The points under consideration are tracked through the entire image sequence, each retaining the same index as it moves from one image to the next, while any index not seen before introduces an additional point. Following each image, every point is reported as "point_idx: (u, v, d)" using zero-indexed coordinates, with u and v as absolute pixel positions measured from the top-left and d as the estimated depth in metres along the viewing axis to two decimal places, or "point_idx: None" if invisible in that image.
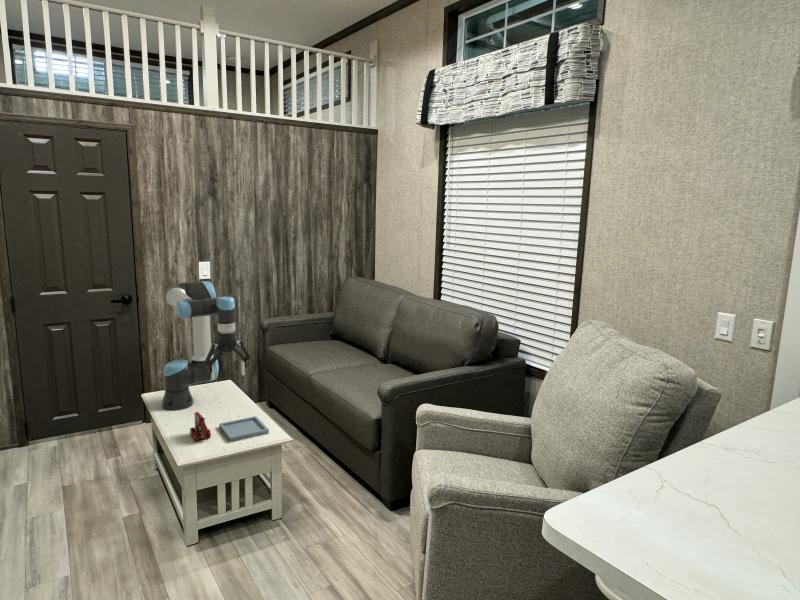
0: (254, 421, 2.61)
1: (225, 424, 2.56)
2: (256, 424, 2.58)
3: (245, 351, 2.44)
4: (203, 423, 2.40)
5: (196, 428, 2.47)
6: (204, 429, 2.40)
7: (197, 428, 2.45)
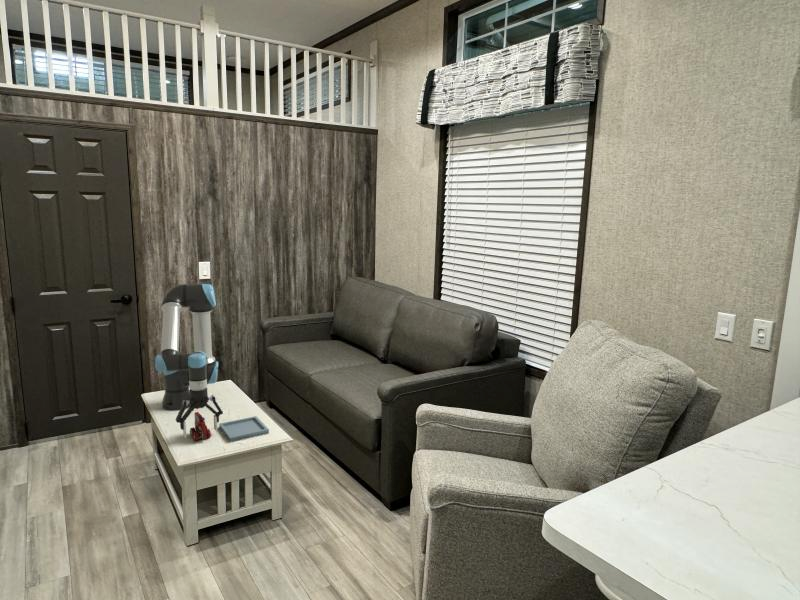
0: (254, 421, 2.61)
1: (225, 424, 2.56)
2: (256, 424, 2.58)
3: (217, 406, 2.46)
4: (203, 423, 2.40)
5: (196, 428, 2.47)
6: (204, 429, 2.40)
7: (197, 428, 2.45)
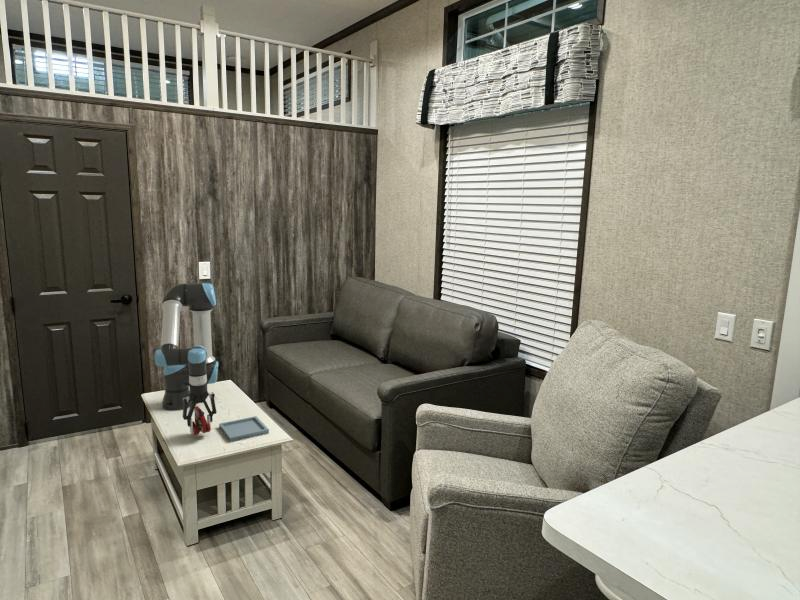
0: (254, 421, 2.61)
1: (225, 424, 2.56)
2: (256, 424, 2.58)
3: (213, 405, 2.45)
4: (203, 417, 2.40)
5: (196, 422, 2.47)
6: (204, 423, 2.40)
7: (197, 422, 2.46)
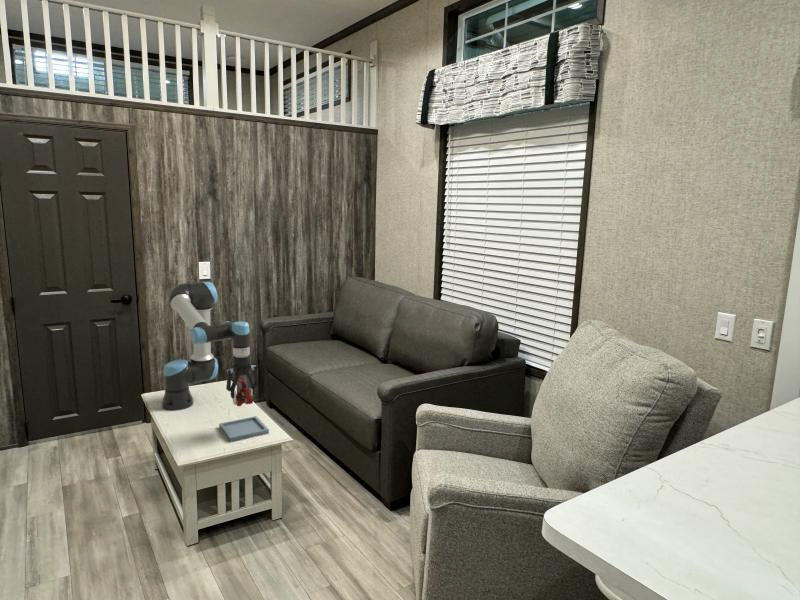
0: (254, 421, 2.61)
1: (225, 424, 2.56)
2: (256, 424, 2.58)
3: (256, 377, 2.51)
4: (246, 389, 2.46)
5: (238, 394, 2.52)
6: (247, 395, 2.45)
7: (239, 394, 2.51)
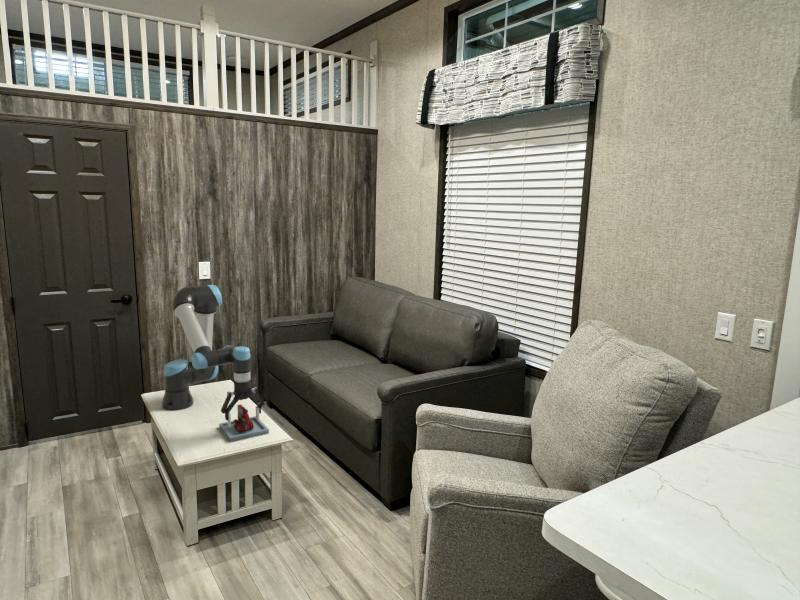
0: (254, 421, 2.61)
1: (225, 424, 2.56)
2: (256, 424, 2.58)
3: (260, 398, 2.53)
4: (247, 415, 2.48)
5: (239, 420, 2.55)
6: (248, 421, 2.48)
7: (240, 420, 2.53)
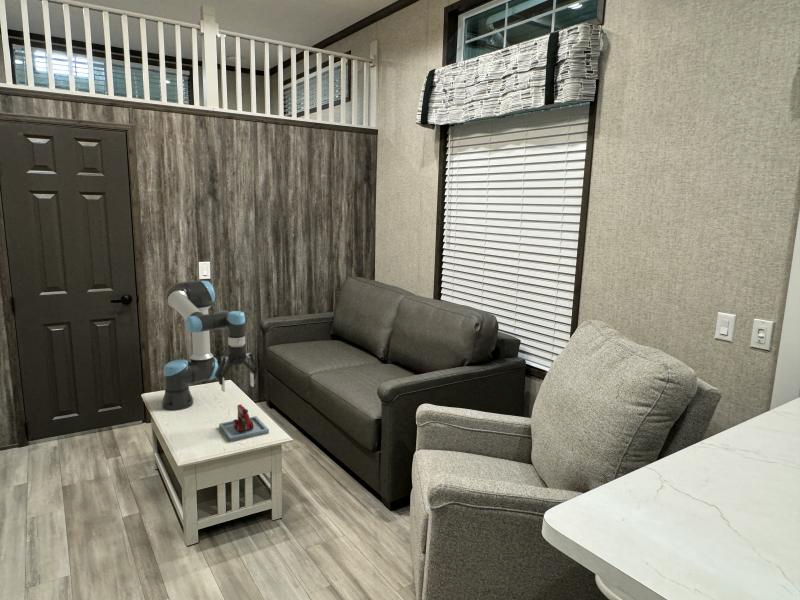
0: (254, 421, 2.61)
1: (225, 424, 2.56)
2: (256, 424, 2.58)
3: (254, 363, 2.52)
4: (247, 415, 2.48)
5: (239, 420, 2.55)
6: (248, 421, 2.48)
7: (240, 420, 2.53)
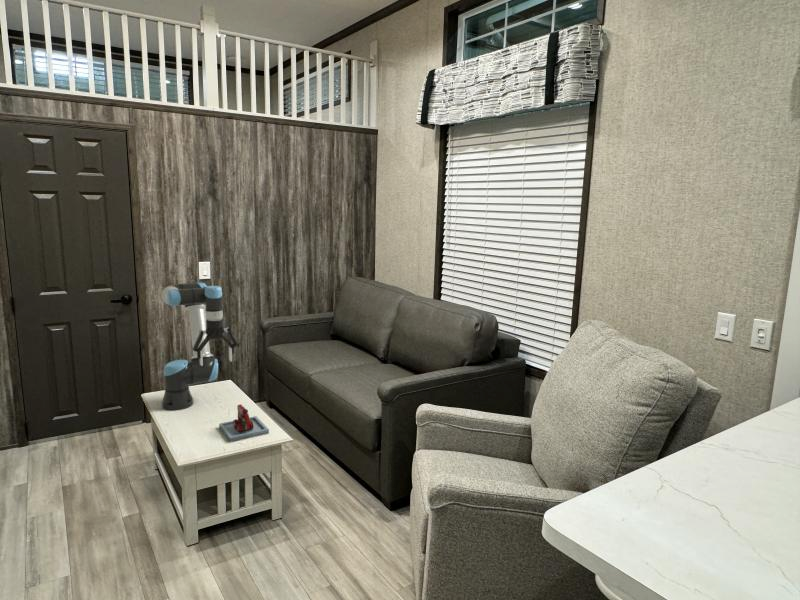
0: (254, 421, 2.61)
1: (225, 424, 2.56)
2: (256, 424, 2.58)
3: (232, 338, 2.56)
4: (247, 415, 2.48)
5: (239, 420, 2.55)
6: (248, 421, 2.48)
7: (240, 420, 2.53)
